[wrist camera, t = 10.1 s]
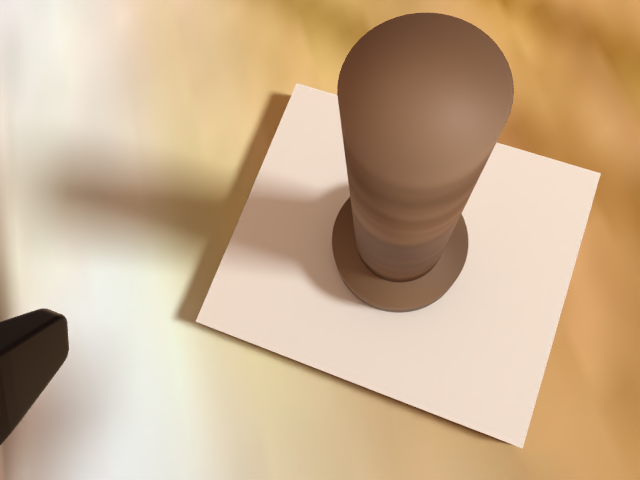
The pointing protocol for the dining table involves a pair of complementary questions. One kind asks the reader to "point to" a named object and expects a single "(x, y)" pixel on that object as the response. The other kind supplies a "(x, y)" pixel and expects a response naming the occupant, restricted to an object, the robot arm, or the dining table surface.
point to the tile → (417, 326)
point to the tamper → (415, 154)
